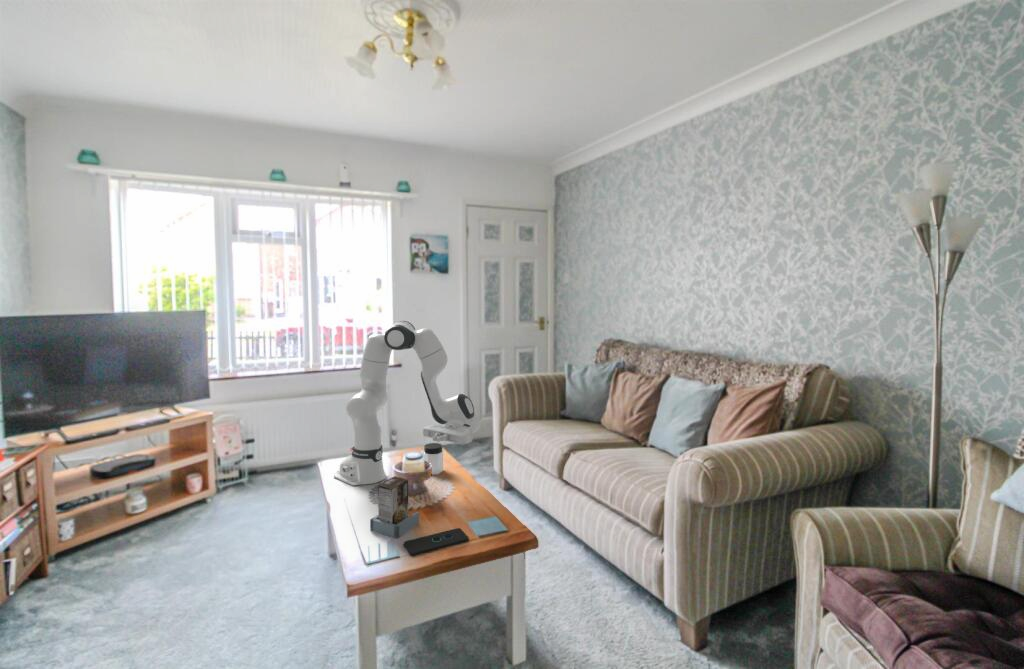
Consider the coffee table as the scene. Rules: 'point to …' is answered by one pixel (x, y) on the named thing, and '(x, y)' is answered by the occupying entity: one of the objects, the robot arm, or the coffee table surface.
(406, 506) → the coffee box
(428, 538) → the smart home device
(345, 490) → the coffee table surface
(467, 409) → the robot arm
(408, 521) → the grey u-shaped channel
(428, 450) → the jar
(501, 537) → the coffee table surface
